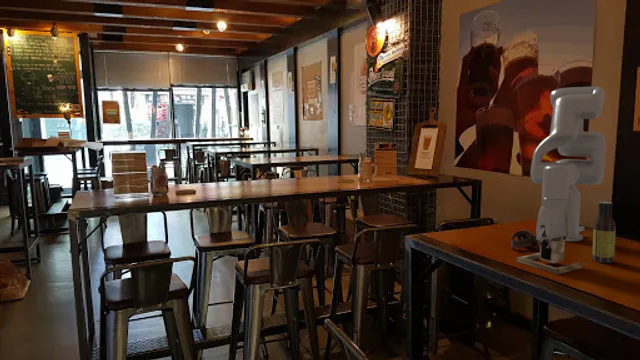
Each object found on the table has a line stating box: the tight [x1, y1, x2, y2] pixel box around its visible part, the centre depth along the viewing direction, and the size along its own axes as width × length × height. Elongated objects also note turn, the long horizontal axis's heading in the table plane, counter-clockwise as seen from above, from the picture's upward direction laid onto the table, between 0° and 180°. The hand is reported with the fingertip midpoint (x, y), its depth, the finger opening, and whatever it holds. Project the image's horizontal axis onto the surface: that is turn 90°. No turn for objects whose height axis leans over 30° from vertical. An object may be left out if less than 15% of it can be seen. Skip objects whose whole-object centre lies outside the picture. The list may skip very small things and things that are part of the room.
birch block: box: [539, 238, 566, 264], centre depth 145 cm, size 5×5×7 cm
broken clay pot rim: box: [510, 229, 540, 252], centre depth 163 cm, size 12×10×8 cm
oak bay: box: [516, 252, 583, 275], centre depth 144 cm, size 12×14×2 cm
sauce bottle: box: [591, 201, 617, 264], centre depth 147 cm, size 6×6×20 cm
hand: (551, 257), depth 145 cm, fingers closed on birch block, 5 cm apart
